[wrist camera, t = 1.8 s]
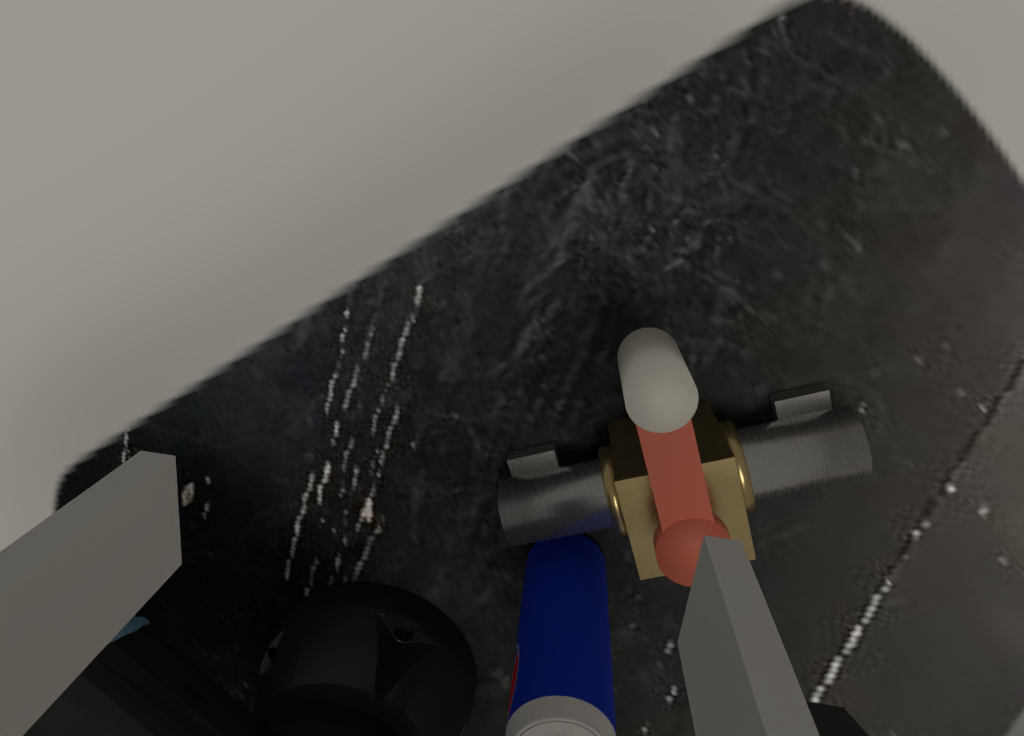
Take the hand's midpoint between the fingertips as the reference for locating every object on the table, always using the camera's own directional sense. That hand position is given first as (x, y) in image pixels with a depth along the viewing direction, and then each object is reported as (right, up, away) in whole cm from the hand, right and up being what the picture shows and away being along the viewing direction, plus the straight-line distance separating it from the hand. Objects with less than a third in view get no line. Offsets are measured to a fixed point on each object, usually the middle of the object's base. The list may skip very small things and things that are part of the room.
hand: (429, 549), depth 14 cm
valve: (+11, -1, +27) cm, 29 cm away
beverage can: (+5, -9, +30) cm, 32 cm away
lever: (+9, 0, +17) cm, 19 cm away
